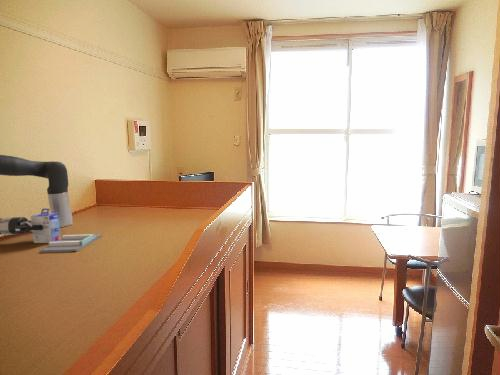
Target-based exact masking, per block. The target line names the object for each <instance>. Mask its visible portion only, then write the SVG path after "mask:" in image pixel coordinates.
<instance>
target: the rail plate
mask: <svg viewBox="0 0 500 375" xmlns="http://www.w3.org/2000/svg"><path fill="white" fill-rule="evenodd" d="M101 236H102V237H103V234H95V233H92V234H91V233H90V234H64V235H62V236H61V240H59V241H57V242H49V243H48V246H46V247H44V248H42V249H40V250H39V252H40V253H41V254H42V253H47V254H48V253H68V252H69V253H72V252H71V251H77V252H78V250H79V251H80V250H82V249H84V248H85V247H88V244H89V245H90V244H92V243H93V241H94V242H95V241H97V240H98V238H99V237H100V238H102V237H101ZM100 238H99V239H100ZM96 239H97V240H96ZM91 242H92V243H91ZM83 247H84V248H83Z"/></svg>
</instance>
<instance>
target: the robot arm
mask: <svg viewBox="0 0 500 375" xmlns="http://www.w3.org/2000/svg"><path fill="white" fill-rule="evenodd" d="M0 176H7V177H11V176H12V177H21V176H22V177H24V176H25V177H26V176H32V177H37V178H44V179H48V186H47V188H46V191H47V200H48V205H49V213H58V219H59V227H60V228H62V227H63V228H64V227H68V226H71V225H73V222H74V220H73V214H72V206H71V204H70V199H69V191H68V190H69V189H68V188H69V177H68V176H69V175H68V169H67V166H66V165H65V164H64V163H63V162H61V161H55V160H54V161H52V160H51V161H40V160H39V161H38V160H37V161H36V160H35V161H34V160H30V159H26V158H22V157H17V156H12V155H5V154H0ZM34 230H43V225H32V224H31V219H28V218H27V217H24V216H17V217H15V216H14V217H11V216H10V217H4V218H0V235H6V236H7V235H9V236H11V235H13V236H15V235H24V234H27V233H30V232H32V231H34Z"/></svg>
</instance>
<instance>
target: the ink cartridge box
mask: <svg viewBox="0 0 500 375" xmlns="http://www.w3.org/2000/svg"><path fill="white" fill-rule="evenodd" d="M30 220H31V224H32V225H43V230H34V231H31V232H32V237H33V238H32V239H33V243H34V244H49V242H58V241H59V240H61V239H62V236H61V227H59V219H58V213H50V208H42V209H41V211H40V213H36V214H32V215H30Z"/></svg>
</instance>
